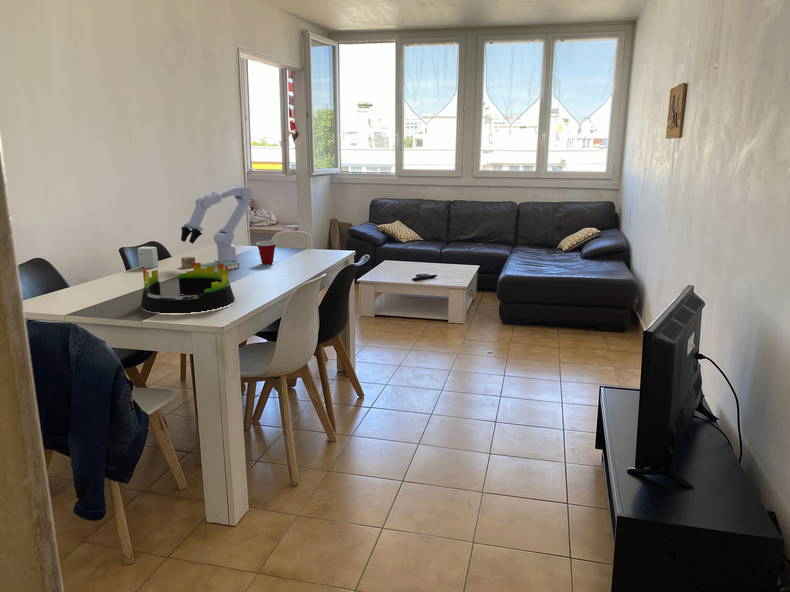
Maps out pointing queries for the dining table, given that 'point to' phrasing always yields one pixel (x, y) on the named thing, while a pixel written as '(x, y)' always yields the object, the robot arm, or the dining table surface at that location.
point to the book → (226, 263)
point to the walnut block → (188, 261)
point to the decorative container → (189, 291)
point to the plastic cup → (266, 251)
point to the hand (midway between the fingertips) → (186, 241)
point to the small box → (147, 257)
